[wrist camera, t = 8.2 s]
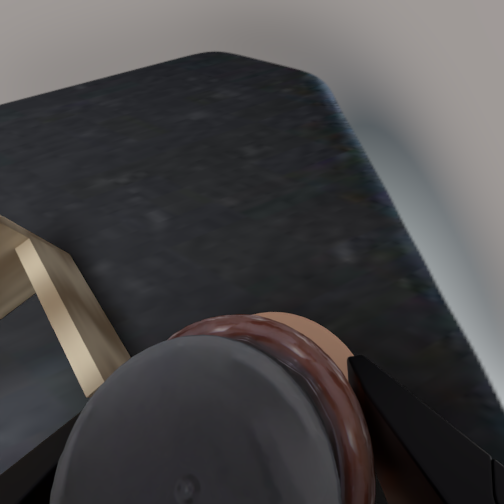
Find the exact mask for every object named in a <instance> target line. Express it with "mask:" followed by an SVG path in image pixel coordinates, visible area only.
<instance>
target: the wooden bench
mask: <svg viewBox="0 0 504 504" xmlns="http://www.w3.org/2000/svg"><path fill="white" fill-rule="evenodd" d="M35 293H36V294H37V296H38V298H39V300H40V302H41V304H42V306H43V308H44V310H45V312H46V315H47V317H48V319H49V321H50V323H51V325H52V327H53V329H54V331H55V333H56V335H57V337H58V339H59V342H60V344H61V346H62V348H63V350H64V352H65V354H66V356H67V358H68V360H69V362H70V364H71V367H72V369H73V371H74V373H75V375H76V377H77V379H78V381H79V383H80V385H81V387H82V389H83V391H84V394H85V396H86V398H87V397H91V396H92V395H93V394H94V393H95V392H96V390H97V389H98V388H99V387H100V386H101V385H102V384H103V383H104V382H105V381H106V379H107V378H108V377H109V376H110V375H111V374H112V373H113V372H114V371H115V370H116V369H118V368H119V367H120V366H121V365H122V364H124V363H125V362H126V361H128V360H129V359H130V358H131V357H130V355H129V353H128V352H127V350H126V348H125V347H124V345H123V343H122V342H121V340H120V338H119V337H118V335H117V333H116V332H115V330H114V328H113V326H112V325H111V323H110V321H109V320H108V318H107V316H106V315H105V313H104V311H103V310H102V308H101V306H100V305H99V303H98V301H97V299H96V298H95V296H94V294H93V293H92V291H91V289H90V288H89V286H88V284H87V283H86V281H85V279H84V278H83V276H82V274H81V273H80V271H79V269H78V267H77V266H76V264H75V262H74V261H73V259H72V257H71V256H70V254H68V253H67V252H65V251H63V250H61V249H60V248H58V247H56V246H54V245H53V244H51V243H49V242H47V241H46V240H44V239H42V238H40V237H38V236H37V235H35V234H33V233H31V232H30V231H28V230H26V229H24V228H23V227H21V226H19V225H17V224H16V223H14V222H12V221H10V220H8V219H7V218H5V217H3V216H1V215H0V319H2V318H3V317H4V316H6V315H7V314H8V313H10V312H11V311H12V310H14V309H15V308H16V307H18V306H19V305H20V304H22V303H23V302H24V301H25V300H27V299H28V298H29V297H31V296H32V295H33V294H35Z"/></svg>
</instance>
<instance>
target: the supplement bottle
mask: <svg viewBox="0 0 504 504" xmlns="http://www.w3.org/2000/svg"><path fill="white" fill-rule="evenodd" d="M375 495H376V480H375V464H374V455H373V449H372V443H371V437H370V433H369V430H368V426H367V423H366V420H365V417H364V414H363V411H362V408H361V406H360V403H359V401H358V399H357V397H356V395H355V393H354V391H353V389H352V387H351V386H350V384H349V382H348V381H347V379H346V377H345V376H344V374H343V372H342V371H341V370H340V369H339V367H338V366H337V365H336V364H335V362H334V361H333V360H332V359H331V358H330V356H329V355H328V354H326V353H325V352H324V351H323V350H322V348H320V347H319V346H318V345H317V344H316V343H315V342H313V341H312V340H311V339H310V338H308V337H307V336H305V335H304V334H302V333H300V332H298V331H296V330H295V329H293V328H291V327H290V326H288V325H286V324H283V323H280V322H277V321H275V320H272V319H269V318H265V317H261V316H257V315H246V314H237V315H224V316H217V317H211V318H208V319H203V320H202V321H200V322H196V323H194V324H191V325H188V326H186V327H185V328H184V329H182V330H180V331H178V332H177V333H174V334H173V335H172V336H171V337H170V338H169V339H168V340H166V341H162V342H160V343H158V344H156V345H153V346H151V347H149V348H147V349H145V350H143V351H142V352H140V353H138V354H136V355H135V356H133V357H132V358H130V359H129V360H128V361H126V362H125V363H124V364H122V365H121V366H120V367H119V368H118V369H116V370H115V371H114V372H113V373H112V374H111V375H110V376H109V377H108V378H107V379H106V381H105V382H104V383H103V384H102V385H101V386H100V387H99V388H98V389H97V390H96V392H95V393H94V394H93V395H92V396H91V398H90V399H89V401H88V402H87V404H86V405H85V407H84V409H83V410H82V412H81V413H80V415H79V417H78V419H77V420H76V422H75V424H74V426H73V428H72V431H71V433H70V435H69V437H68V439H67V442H66V445H65V448H64V451H63V453H62V454H61V456H60V459H59V461H58V465H57V469H56V473H55V477H54V482H53V486H52V490H51V495H50V504H375Z"/></svg>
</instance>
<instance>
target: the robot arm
mask: <svg viewBox="0 0 504 504" xmlns="http://www.w3.org/2000/svg"><path fill="white" fill-rule="evenodd" d="M347 370H348V382H349V384H350V386H351V387H352V389H353V391H354V393H355V395H356V397H357V399H358V401H359V403H360V406H361V408H362V411H363V414H364V417H365V420H366V423H367V426H368V430H369V433H370V437H371V443H372V449H373V455H374V464H375V472H376V474H377V477H378V479H379V482H380V484H381V487H382V489H383V492H384V494H385V497H386V499H387V502H388V504H504V466H503V465H502V464H501V463H499V462H498V461H497V460H495V459H493V460H492V458H491V456H490V455H489V454H488V453H486V452H485V451H484V450H483V449H481V448H480V447H479V446H478V445H476V444H475V443H474V442H472V441H471V440H470V439H469V438H467V437H466V436H465V435H464V434H462V433H461V432H460V431H458V430H457V429H456V428H455V427H453V426H452V425H451V424H450V423H448V422H447V421H446V420H445V419H443V418H442V417H441V416H439V415H438V414H437V413H436V412H434V411H433V410H432V409H431V408H429V407H428V406H427V405H425V404H424V403H423V402H422V401H420V400H419V399H418V398H417V397H415V396H414V395H413V394H411V393H410V392H409V391H408V390H406V389H405V388H404V387H403V386H401V385H400V384H399V383H397V382H396V381H395V380H394V379H392V378H391V377H390V376H389V375H387V374H386V373H385V372H383V371H382V370H381V369H380V368H378V367H377V366H376V365H375V364H373V363H372V362H371V361H370V360H368V359H367V358H366V357H364V356H362V355H358V356H349V357H348V358H347ZM81 412H82V411H81ZM81 412H80V413H81ZM80 413H79V414H77V415H76V416H75V417H74V418H72V419H71V420H70V421H69V422H67V423H66V424H65V425H63V426H62V427H61V428H60V429H58V430H57V431H56V432H55V433H53V434H52V435H51V436H49V437H48V438H47V439H46V440H44V441H43V442H42V443H41V444H39V445H38V446H37V447H35V448H34V449H33V450H32V451H30V452H29V453H28V454H27V455H25V456H24V457H23V458H22V459H20V460H19V461H18V462H16V463H15V464H14V465H13V466H11V467H10V468H9V469H8V470H6V471H5V472H4V473H2V474H1V475H0V504H50V495H51V490H52V486H53V482H54V477H55V473H56V469H57V465H58V461H59V459H60V456H61V454H62V453H63V451H64V448H65V445H66V442H67V439H68V437H69V435H70V433H71V431H72V428H73V426H74V424H75V422H76V420H77V419H78V417H79V415H80Z"/></svg>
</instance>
